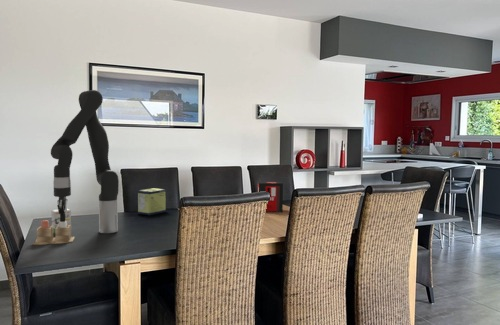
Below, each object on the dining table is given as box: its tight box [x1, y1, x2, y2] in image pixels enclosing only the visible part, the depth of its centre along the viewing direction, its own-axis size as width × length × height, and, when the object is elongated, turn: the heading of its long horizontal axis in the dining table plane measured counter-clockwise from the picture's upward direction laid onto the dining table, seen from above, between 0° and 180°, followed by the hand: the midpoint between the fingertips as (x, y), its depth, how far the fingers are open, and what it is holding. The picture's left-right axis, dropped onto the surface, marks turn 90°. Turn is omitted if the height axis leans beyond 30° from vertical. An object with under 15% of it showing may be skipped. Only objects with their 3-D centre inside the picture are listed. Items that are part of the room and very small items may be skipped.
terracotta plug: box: [40, 219, 50, 229], centre depth 189 cm, size 3×3×8 cm
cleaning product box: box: [257, 181, 284, 213], centre depth 272 cm, size 16×9×20 cm, turn 94°
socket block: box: [32, 224, 76, 246], centre depth 190 cm, size 17×9×7 cm, turn 107°
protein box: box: [137, 187, 167, 216], centre depth 262 cm, size 10×16×16 cm
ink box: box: [51, 208, 72, 234], centre depth 209 cm, size 8×5×12 cm, turn 131°
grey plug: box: [59, 221, 67, 228], centre depth 191 cm, size 3×3×8 cm
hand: (62, 221), depth 191 cm, fingers closed
